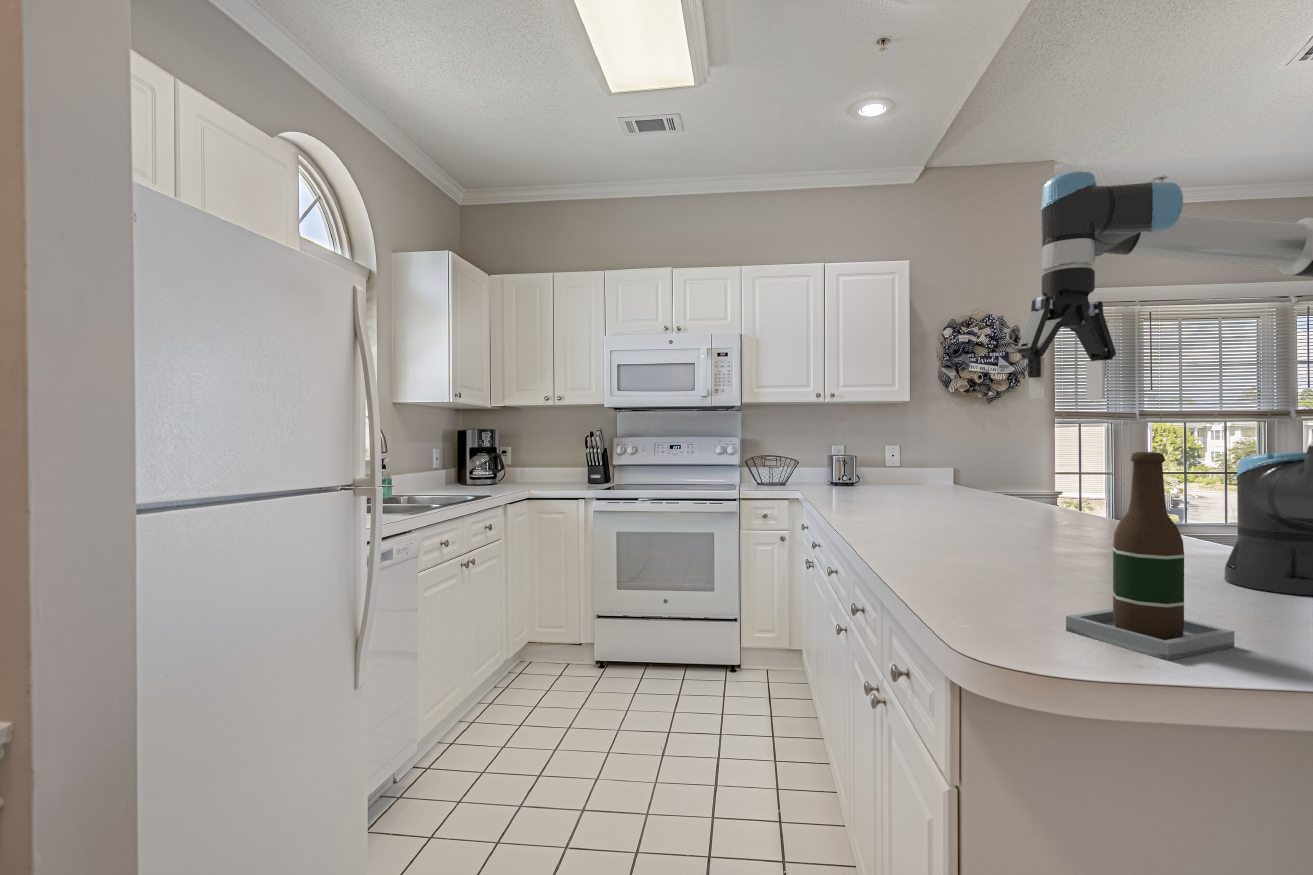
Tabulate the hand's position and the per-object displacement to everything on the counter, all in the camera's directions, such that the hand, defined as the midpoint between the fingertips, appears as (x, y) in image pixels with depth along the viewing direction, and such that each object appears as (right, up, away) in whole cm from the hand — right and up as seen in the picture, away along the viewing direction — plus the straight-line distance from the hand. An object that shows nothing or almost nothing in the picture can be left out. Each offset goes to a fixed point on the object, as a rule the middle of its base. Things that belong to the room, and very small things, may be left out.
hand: (1067, 399), depth 111 cm
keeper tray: (-4, -33, -23) cm, 40 cm away
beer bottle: (-3, -33, -22) cm, 40 cm away
